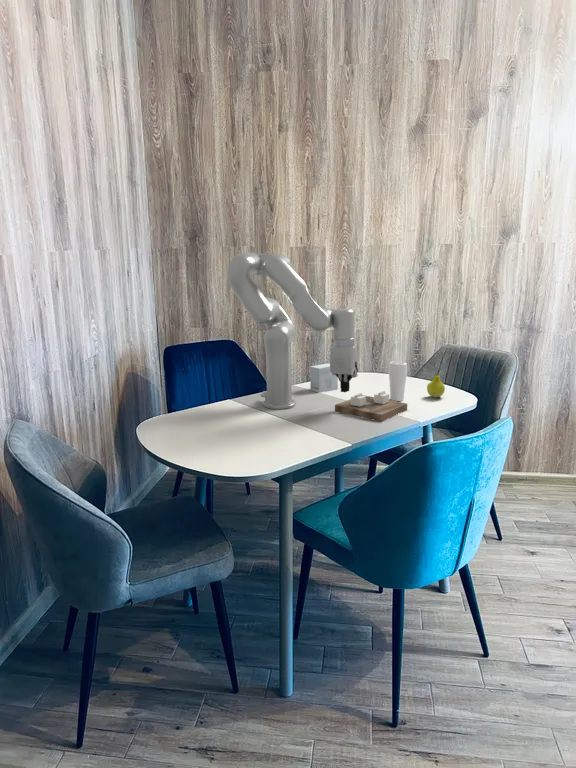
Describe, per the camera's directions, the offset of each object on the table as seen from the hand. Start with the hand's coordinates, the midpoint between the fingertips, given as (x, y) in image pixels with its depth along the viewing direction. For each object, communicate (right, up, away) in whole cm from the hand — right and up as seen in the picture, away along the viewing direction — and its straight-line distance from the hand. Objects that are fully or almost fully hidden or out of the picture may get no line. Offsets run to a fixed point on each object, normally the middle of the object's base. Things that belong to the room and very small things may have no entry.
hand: (345, 391), depth 211 cm
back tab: (+14, -4, -1) cm, 14 cm away
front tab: (+5, -5, -3) cm, 7 cm away
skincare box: (-6, 0, +30) cm, 31 cm away
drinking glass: (+22, -4, +13) cm, 25 cm away
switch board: (+9, -7, -2) cm, 12 cm away
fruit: (+38, -3, +16) cm, 41 cm away
